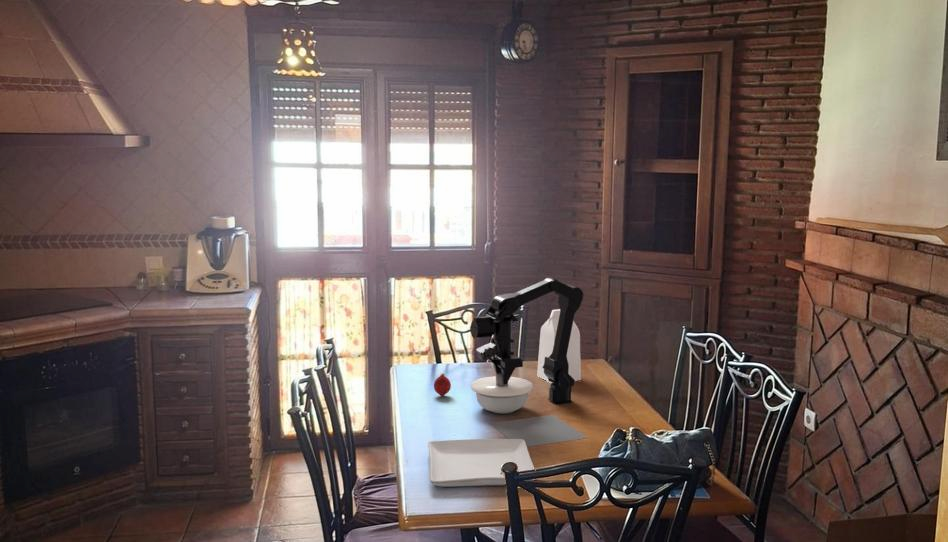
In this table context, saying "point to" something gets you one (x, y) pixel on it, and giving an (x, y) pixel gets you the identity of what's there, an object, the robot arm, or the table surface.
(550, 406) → the table surface
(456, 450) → the square plate
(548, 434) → the mat
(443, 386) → the onion
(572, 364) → the milk
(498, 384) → the lid
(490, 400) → the cereal bowl
